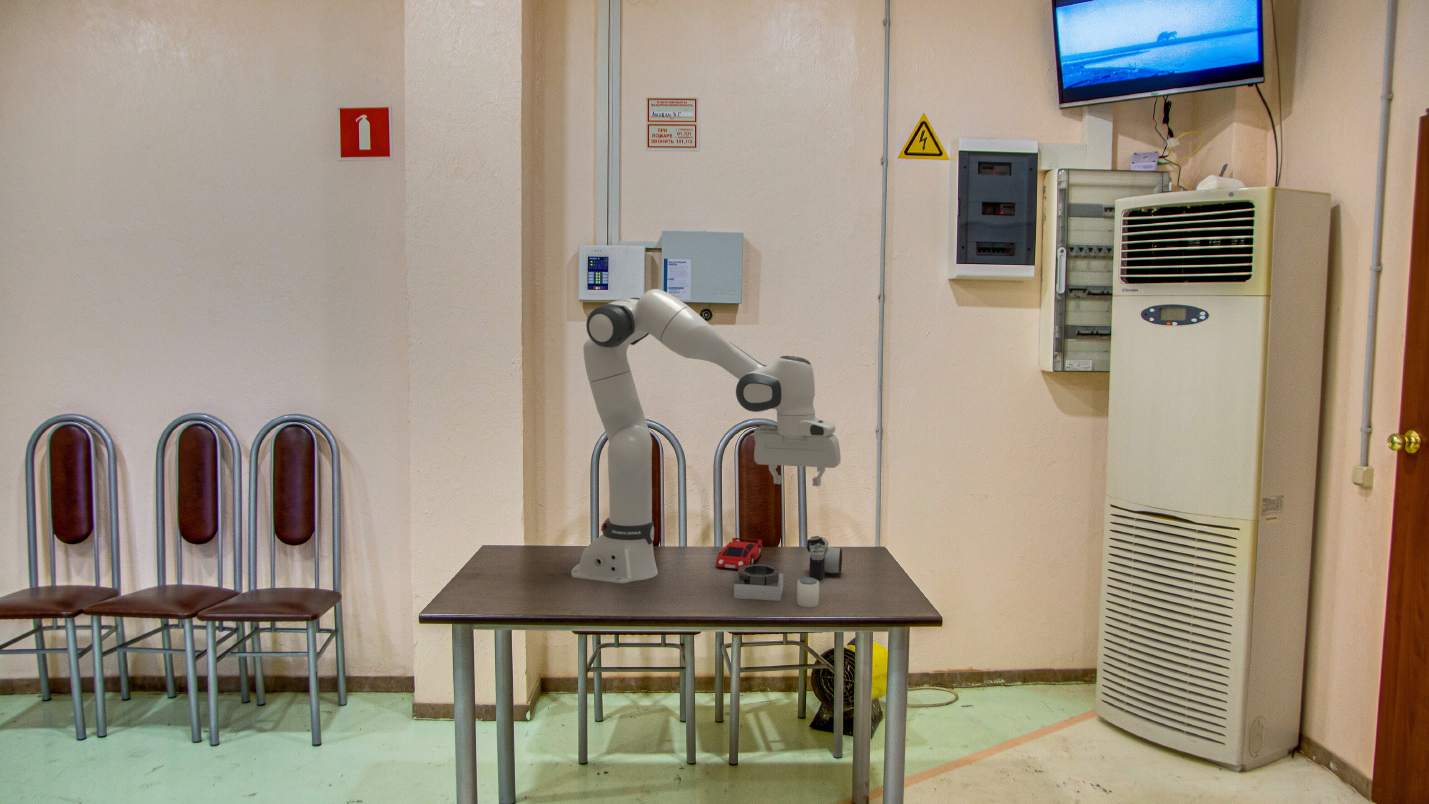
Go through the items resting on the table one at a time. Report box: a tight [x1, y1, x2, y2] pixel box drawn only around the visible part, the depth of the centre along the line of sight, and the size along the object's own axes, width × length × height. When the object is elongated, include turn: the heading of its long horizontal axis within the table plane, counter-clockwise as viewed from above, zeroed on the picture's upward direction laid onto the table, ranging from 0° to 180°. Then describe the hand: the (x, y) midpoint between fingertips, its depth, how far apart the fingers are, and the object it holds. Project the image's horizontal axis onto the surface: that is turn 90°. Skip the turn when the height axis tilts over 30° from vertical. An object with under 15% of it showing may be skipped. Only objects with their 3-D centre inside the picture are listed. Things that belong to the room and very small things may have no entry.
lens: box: [796, 576, 820, 608], centre depth 182 cm, size 5×5×6 cm
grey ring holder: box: [733, 563, 784, 602], centre depth 190 cm, size 11×10×6 cm
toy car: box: [715, 537, 763, 570], centre depth 218 cm, size 10×20×5 cm, turn 168°
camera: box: [806, 535, 843, 584], centre depth 205 cm, size 16×9×10 cm, turn 168°
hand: (797, 484), depth 183 cm, fingers open, 8 cm apart
